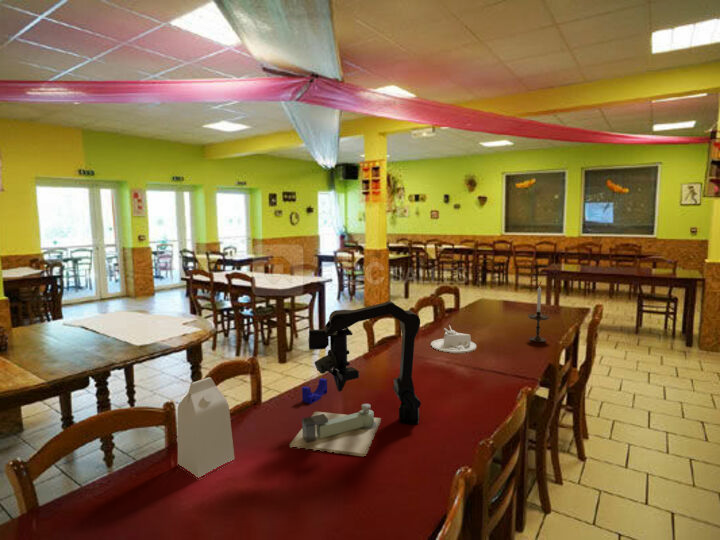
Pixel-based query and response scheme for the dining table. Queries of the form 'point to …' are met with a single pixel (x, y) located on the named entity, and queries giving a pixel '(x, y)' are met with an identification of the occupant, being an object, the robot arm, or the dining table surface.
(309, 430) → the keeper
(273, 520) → the dining table surface
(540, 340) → the candlestick
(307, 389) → the cable clip
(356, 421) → the latch bar
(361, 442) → the base board
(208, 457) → the milk
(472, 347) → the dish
